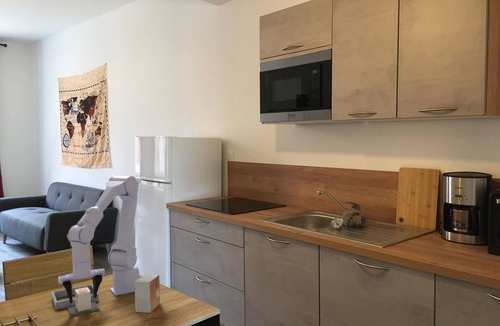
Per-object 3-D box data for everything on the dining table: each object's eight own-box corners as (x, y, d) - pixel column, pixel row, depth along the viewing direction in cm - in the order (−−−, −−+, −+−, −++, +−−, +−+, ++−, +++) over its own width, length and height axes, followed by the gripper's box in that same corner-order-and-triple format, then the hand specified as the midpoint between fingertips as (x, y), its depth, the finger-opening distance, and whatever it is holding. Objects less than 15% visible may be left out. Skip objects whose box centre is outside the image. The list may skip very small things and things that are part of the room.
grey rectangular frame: (92, 290, 155) (92, 284, 155) (98, 300, 145) (98, 293, 144) (52, 298, 147) (51, 291, 147) (55, 309, 137) (55, 302, 137)
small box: (150, 313, 133) (149, 282, 133) (135, 312, 134) (134, 281, 134) (160, 303, 141) (159, 274, 141) (145, 302, 142) (145, 273, 142)
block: (87, 304, 141) (87, 286, 140) (91, 308, 136) (90, 291, 136) (75, 306, 138) (74, 289, 138) (78, 311, 134) (77, 293, 134)
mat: (94, 302, 143) (94, 301, 143) (99, 310, 136) (99, 309, 136) (67, 308, 138) (67, 307, 138) (70, 316, 131) (70, 315, 131)
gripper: (100, 254, 144) (102, 291, 144) (56, 261, 136) (57, 300, 136) (105, 258, 138) (107, 297, 138) (59, 266, 130) (61, 307, 130)
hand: (83, 299), depth 137 cm, fingers open, 7 cm apart
